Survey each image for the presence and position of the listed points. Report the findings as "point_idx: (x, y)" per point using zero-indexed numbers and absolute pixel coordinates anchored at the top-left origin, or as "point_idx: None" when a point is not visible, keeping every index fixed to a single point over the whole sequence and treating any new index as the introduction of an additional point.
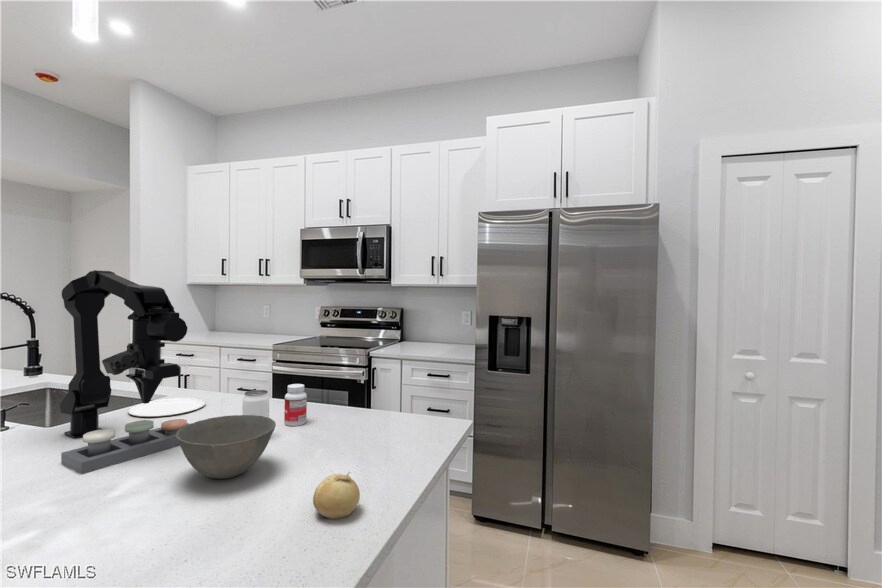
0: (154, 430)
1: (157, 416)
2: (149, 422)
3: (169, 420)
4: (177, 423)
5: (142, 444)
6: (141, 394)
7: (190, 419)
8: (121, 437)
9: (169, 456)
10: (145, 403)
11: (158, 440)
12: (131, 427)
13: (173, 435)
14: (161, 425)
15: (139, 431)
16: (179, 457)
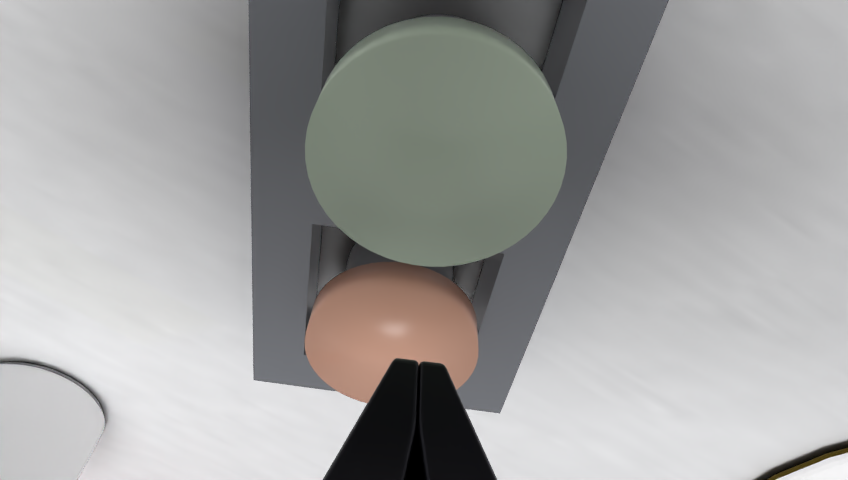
0: (526, 265)
1: (839, 452)
2: (382, 224)
3: (467, 366)
4: (340, 343)
5: (284, 22)
6: (428, 476)
7: (618, 470)
8: (639, 71)
9: (100, 55)
10: (391, 364)
11: (271, 137)
12: (381, 47)
13: (290, 244)
14: (427, 289)
15: (328, 76)
16: (24, 70)
